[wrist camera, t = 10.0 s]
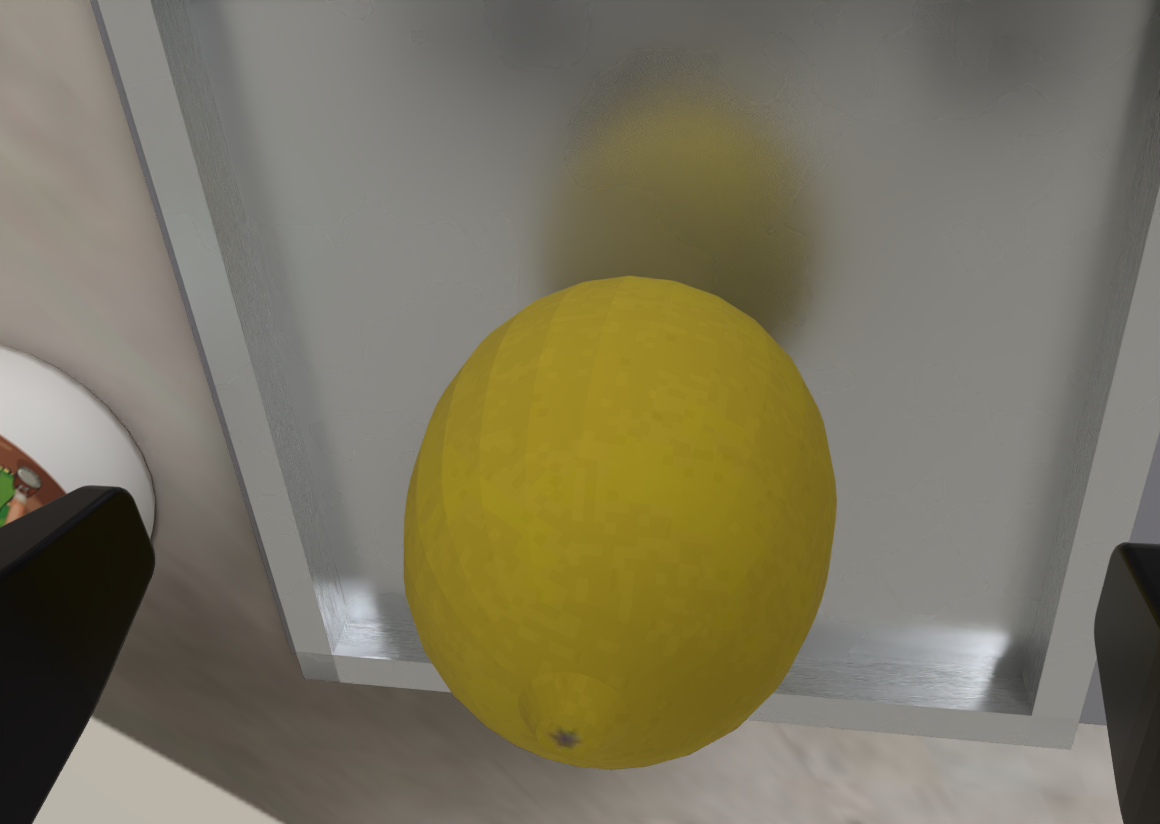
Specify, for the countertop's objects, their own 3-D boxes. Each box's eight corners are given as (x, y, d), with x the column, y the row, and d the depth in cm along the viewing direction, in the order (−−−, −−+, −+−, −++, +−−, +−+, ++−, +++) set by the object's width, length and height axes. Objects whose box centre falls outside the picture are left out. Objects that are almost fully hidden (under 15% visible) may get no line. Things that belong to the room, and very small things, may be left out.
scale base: (1341, -361, 14) (1455, -376, 12) (1082, 626, 24) (1114, 731, 21) (125, -255, 17) (13, -249, 15) (339, 573, 27) (293, 659, 25)
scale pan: (1225, -217, 14) (1334, -198, 11) (1018, 693, 23) (1048, 831, 20) (189, -148, 17) (60, -118, 14) (379, 640, 26) (327, 754, 23)
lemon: (847, 198, 15) (880, 564, 9) (812, 497, 18) (816, 936, 12) (480, 183, 16) (259, 506, 10) (504, 472, 19) (350, 865, 13)
